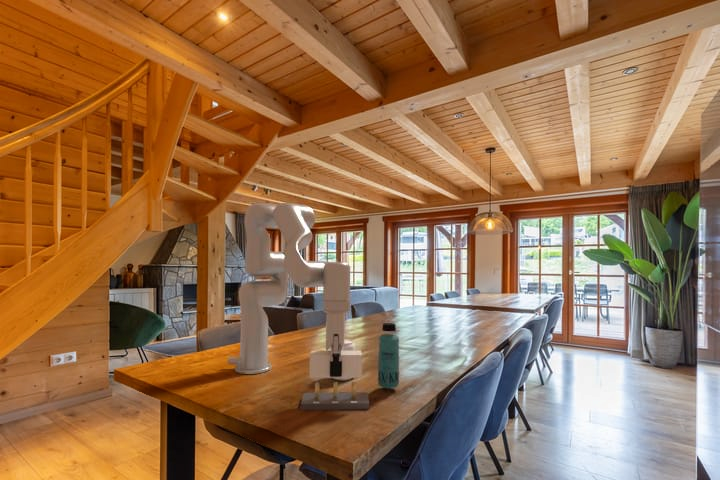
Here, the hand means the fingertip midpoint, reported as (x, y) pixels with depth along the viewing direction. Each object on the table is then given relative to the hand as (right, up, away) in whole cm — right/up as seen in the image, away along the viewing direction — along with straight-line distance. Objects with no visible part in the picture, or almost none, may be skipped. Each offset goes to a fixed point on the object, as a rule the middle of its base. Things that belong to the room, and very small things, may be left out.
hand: (336, 372), depth 97 cm
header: (0, -8, -1) cm, 8 cm away
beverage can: (+1, -10, +22) cm, 24 cm away
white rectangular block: (0, -1, 0) cm, 1 cm away
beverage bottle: (+15, -9, +10) cm, 21 cm away
